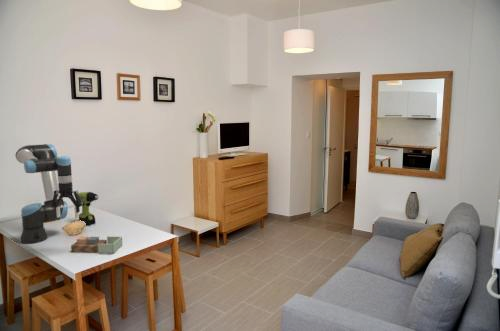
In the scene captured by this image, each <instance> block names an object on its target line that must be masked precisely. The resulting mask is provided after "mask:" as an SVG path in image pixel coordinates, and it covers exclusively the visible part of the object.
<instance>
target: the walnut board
mask: <svg viewBox="0 0 500 331" xmlns="http://www.w3.org/2000/svg"><path fill="white" fill-rule="evenodd" d="M98 244H108V243H107V239H99V242H98V243H96V244H87V243H86V244H77V241H76V242H74V243H73V244H72V245H71V246H70V249H71V253H88V254H89V253H93V254H94V253H95V254H97V253H98ZM98 254H99V253H98Z"/></svg>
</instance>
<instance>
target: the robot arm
mask: <svg viewBox="0 0 500 331" xmlns="http://www.w3.org/2000/svg"><path fill="white" fill-rule="evenodd" d="M15 160H16V161H17V162H18V163H20V164H23V167H24V168H23V170H24V172H25V174H35V173H40V175H41V182H42V186H43V192H44V197H45V200H44V202H43V204H42V203H40V202H36V203H30V204H27V205H25V206H23V207H22V208H21V213H20V215H21V219H22V220H21V223H22V231H21V232H22V233H21V236H20V243H22V244H26V245H27V244H36V243H37V244H38V243H41V242H44V241H46V240H47V239H48V238H49V237H48V233H47V231H46V229H45V227H44V223H49V222H53V221H54V222H55V221H60V220H63V219H64V220H65V219H66V218H67V217H68V212H69V211H68V209H69V208H68V203H67V201H65V200H64V198H68V199H70V201H71V203H72V204H73V206H75V207H74V218H75V219H77V218H78V219H79V214H80V207H82V204H83V203H82V202H81V200H80V197H79V195H78V193H79V190H73V177H72V174H73V173H72V161H71V157H70V156H68V155H67V156H66V155H65V156H64V155H63V156H58V152H57V149H56V147H55V146H54V145H53V144H51V143H50V144H49V143H47V144H46V143H44V144H31V145H30V144H29V145H24V146H22V147H20V148H19V149H17V151H16V152H15ZM56 172H57V173H56ZM56 174H57V176H56Z"/></svg>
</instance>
